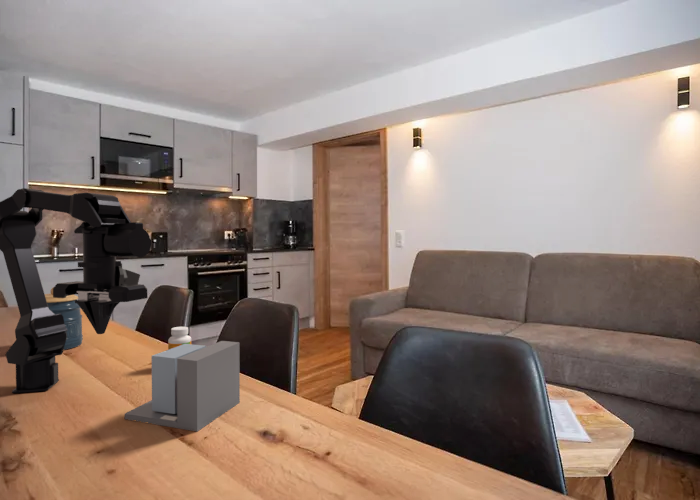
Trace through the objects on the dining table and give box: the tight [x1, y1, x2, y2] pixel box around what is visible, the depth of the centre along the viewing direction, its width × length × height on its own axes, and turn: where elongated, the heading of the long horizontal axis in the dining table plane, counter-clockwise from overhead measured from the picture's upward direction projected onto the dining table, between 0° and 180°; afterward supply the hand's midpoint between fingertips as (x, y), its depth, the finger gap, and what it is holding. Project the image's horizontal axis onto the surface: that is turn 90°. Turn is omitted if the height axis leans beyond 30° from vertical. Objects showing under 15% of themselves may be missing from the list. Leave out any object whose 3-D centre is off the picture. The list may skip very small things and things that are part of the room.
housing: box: [124, 340, 241, 432], centre depth 80 cm, size 15×13×12 cm
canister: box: [44, 286, 84, 351], centre depth 124 cm, size 13×13×18 cm
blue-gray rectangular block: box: [151, 343, 207, 414], centre depth 80 cm, size 5×9×10 cm, turn 163°
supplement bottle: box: [167, 326, 192, 350], centre depth 106 cm, size 5×5×10 cm
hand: (100, 333), depth 86 cm, fingers closed
